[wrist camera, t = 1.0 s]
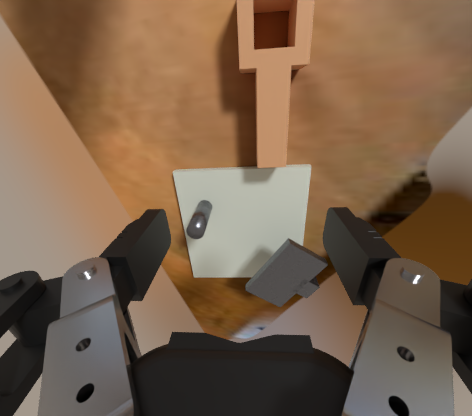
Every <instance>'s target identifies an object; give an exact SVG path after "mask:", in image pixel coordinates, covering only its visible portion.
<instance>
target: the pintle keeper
mask: <svg viewBox="0 0 472 416" xmlns="http://www.w3.org/2000/svg"><path fill="white" fill-rule="evenodd" d="M211 211H212V204H211V203H210V202H209V201H207V200H202V201H200V202H199V203H198V205H197V207H196V210H195V212H194V214H193V216H192V218H191V220H190V222H189V224H188V227H187V229H186V232H187V235H188V236H189V237H191V238H193V239H200V238H202V237H203V236H204V233H205V230H206V227H207V224H208V221H209V217H210V214H211ZM327 265H328V264H327V262H326V260H325V259H324V258H322V257H321V256H319V255H317V254H315V253H314V252H312V251H310V250H309V249H307V248H305V247H303V246H302V245H300V244H298V243H296V242H295V241H293V240H291V239H289V238H288V239H287V240H286V241H285V242H284V243H283V244H282V246H281V247H280V248H279V249H278V250H277V251H276V252H275V253H274V254H273V255H272V256H271V257H270V259H269V260H268V261H267V262H266V263H265V264H264V265H263V266H262V267H261V268H260V269H259V270H258V272H257V273H256V274H255V275H254V276H253V277H252V278H251V279H250V280H249V281H248V282H247V283H246V291H248V292H250V293H252V294H254V295H256V296H258V297H260V298H262V299H264V300H266V301H268V302H270V303H273V304H275V305H277V306H279V307H281V306H282V305H283V304H284V303H286V302H287V301H288V300H289V299H290V298H291V297H292V296H293V295H295V294H296V293H297V294H299V295H301V296H303V297H305V298H308V297H309V296H310V295H311V294H312V293H314V292H315V291H316V290H317V289H318V288H319V285H318V282H317V279H316V277H315V276H316V275H317V274H318V273H319V272H320V271H322V270H323V269H324V268H325V267H326V266H327Z"/></svg>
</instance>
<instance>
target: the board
mask: <svg viewBox="0 0 472 416" xmlns="http://www.w3.org/2000/svg"><path fill="white" fill-rule="evenodd" d="M310 174H311V166H310V164H301V165H286V167H270V168H258V167H257V166H252V167H227V168H203V169H178V170H174V171H173V176H174V181H175V186H176V191H177V196H178V201H179V206H180V211H181V216H182V221H183V226H184V231H185V236H186V241H187V246H188V250H189V255H190V260H191V265H192V270H193V275H194V277H253V276H254V275H255V274H256V273H257V272H258V270H259V269H260V268H261V267H262V266H263V265H264V264H265V263H266V262H267V261H268V260H269V259H270V257H271V256H272V255H273V254H274V253H275V252H276V251H277V250H278V249H279V248H280V247H281V246H282V244H283V243H284V242H285V241H286V240H287V239H288V238H289V239H291V240H293V241H295V242H296V243H298V244H300V245H302V246H303V238H304V229H305V220H306V211H307V202H308V193H309V183H310ZM202 200H207V201H209V202H210V203H211V204H212V211H211V214H210V217H209V221H208V224H207V227H206V230H205V233H204V236H203V237H202V238H200V239H193V238H191V237H189V236H188V235H187V232H186V229H187V227H188V224H189V222H190V220H191V218H192V216H193V214H194V212H195V210H196V207H197V205H198V203H199V202H200V201H202Z"/></svg>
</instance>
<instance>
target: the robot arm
mask: <svg viewBox="0 0 472 416" xmlns="http://www.w3.org/2000/svg"><path fill="white" fill-rule="evenodd" d="M170 244H171V234H170V230H169V225H168V221H167V217H166V213H165V211H164V210H163V209H148V210H146V211H145V213H144V214H143V215H142V216H141V217H140V218H139V219H137V220H135V221H133V222H132V223H130V224H129V225H127V226H126V228H125V229H124V230H123V231H122V233H120V234H119V235H118V236H117V239H115V240H114V241H113V242H112V243H111V244H110V245H109V246H108V247H107V248H106V249H105V250H104V252H103V253H102V254H101V255H100V256H99V257H95V258H90V259H87V260H84V261H81V262H79V263H78V264H76V265H74V266H73V267H71V268H70V269H69V270H68V271H67V272H66V273H65V274H64V276H63V277H58V278H54V279H49V280H45V281H43V280H42V279H41V277H40V276H39V274H38V273H37V272H35V271H24V272H20V273H17V274H14V275H11V276H9V277H7V278H4V279H2V280H1V281H0V338H1V337H2V336H3V334H5V332H7V330H8V329H9V331H10V332H11V333H12V334H13V335H14V336H15V337H16V338H17V339H16V341H15V342H14V343H13V344H12V345H11V346H10V347H9V348H8V349H7V351H6V352H5V353H4V354H3V355H2V356H1V357H0V416H13V415H14V413H15V412H16V410H17V409H18V408H19V406H20V405H21V403H22V402H23V400H24V399H25V397H26V396H27V394H28V393H29V391H30V390H31V389H32V387H33V386H34V384H35V383H36V381H37V380H38V378H39V377H40V375H41V374H42V382H41V391H40V400H39V408H38V416H454V395H453V394H454V393H453V369H452V368H454V369H455V371H456V372H457V373H458V375H459V376H460V378H461V379H462V381H463V382H464V383H465V385H466V386H467V388H468V389H469V391H470V392H471V394H472V279H471V281H470V283H469V284H468V285H463V284H458V283H453V282H449V281H444V280H440V279H439V278H438V276H437V275H436V274H435V273H434V272H433V271H432V270H430V269H429V268H427V267H426V266H424V265H422V264H420V263H418V262H415V261H412V260H408V259H404V258H401V257H400V256H399V255H398V254H397V253H396V252H395V250H394V249H393V248H392V247H391V246H390V245H389V244H388V243H387V242H386V241H385V240H384V239H383V238H382V236H381V235H380V234H379V233H378V232H376V230H375V229H374V228H373V227H372V226H371V225H370V224H369V223H368V222H366V221H364V220H362V219H361V218H356V217H355V216H354V214H353V213H352V212H351V211H350V210H349V209H348V208H347V207H333V208H329V209H328V211H327V216H326V222H325V227H324V232H323V244H324V247H325V249H326V251H327V254H328V256H329V258H330V260H331V262H332V264H333V266H334V268H335V270H336V272H337V274H338V275H339V278H340V280H341V282H342V283H343V285H344V288H345V290H346V291H347V294H348V296H349V298H350V300H351V302H352V303H353V305H365V306H366V307H367V309H368V311H367V314H366V316H365V320H364V323H363V326H362V329H361V332H360V335H359V338H358V341H357V344H356V347H355V350H354V353H353V356H352V359H351V362H350V364H349V367H348V366H346V365H345V364H344V363H342V362H341V361H339V360H338V359H336V358H334V357H333V356H331V355H329V354H327V353H325V352H323V351H320V350H318V349H315V348H313V347H312V343H311V339H310V336H309V335H272V336H267V337H263V338H259V339H255V340H251V341H247V342H244V343H236V342H233V341H230V340H226V339H223V338H220V337H217V336H213V335H210V334H207V333H189V332H187V333H186V332H172V334H171V337H170V341H169V344H167V345H163V346H161V347H158V348H155V349H153V350H151V351H149V352H148V353H146V354H144V355H143V356H142V355H141V353H140V350H139V346H138V343H137V339H136V335H135V331H134V327H133V324H132V320H131V316H130V312H129V310H128V305H129V303H130V301H142V300H143V298H144V296H145V294H146V292H147V290H148V288H149V286H150V284H151V282H152V280H153V279H154V277H155V275H156V272H157V271H158V268H159V267H160V265H161V263H162V261H163V259H164V257H165V255H166V253H167V251H168V249H169V247H170ZM42 372H43V373H42Z"/></svg>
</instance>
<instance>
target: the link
mask: <svg viewBox="0 0 472 416" xmlns="http://www.w3.org/2000/svg"><path fill="white" fill-rule="evenodd" d="M314 2H315V0H237V22H238V46H239V69H240V72H241V74H242V73H255V90H256V159H257V167H258V168H270V167H286V158H287V140H288V121H289V102H290V83H291V70H297V69H301V68H303V67H305V66H306V65H308V64H309V60H310V49H311V37H312V25H313V14H314ZM287 10H289V24H288V46H287V47H283V48H270V49H258V50H254V13H265V12H276V11H287Z"/></svg>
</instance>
